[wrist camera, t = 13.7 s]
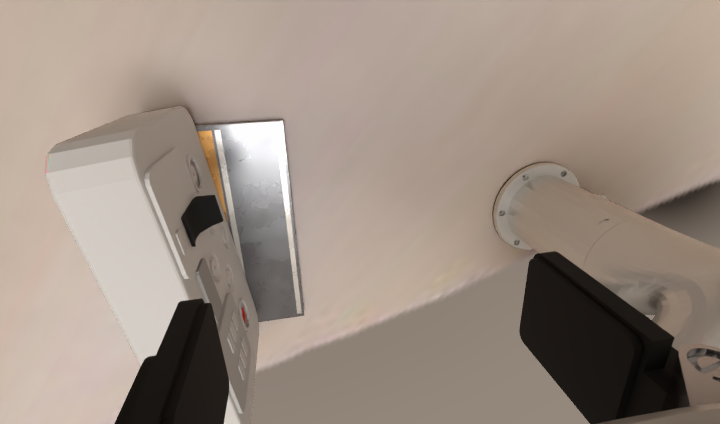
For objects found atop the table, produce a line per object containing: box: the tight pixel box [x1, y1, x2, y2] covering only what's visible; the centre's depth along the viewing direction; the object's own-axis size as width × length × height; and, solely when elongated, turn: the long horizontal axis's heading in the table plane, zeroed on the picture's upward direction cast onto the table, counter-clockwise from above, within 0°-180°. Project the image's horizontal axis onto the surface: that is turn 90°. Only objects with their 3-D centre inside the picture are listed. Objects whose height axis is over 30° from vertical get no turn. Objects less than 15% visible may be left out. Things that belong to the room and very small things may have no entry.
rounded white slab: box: [45, 106, 259, 424], centre depth 37 cm, size 29×8×18 cm, turn 9°
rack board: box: [195, 119, 304, 322], centre depth 47 cm, size 14×26×1 cm, turn 2°
